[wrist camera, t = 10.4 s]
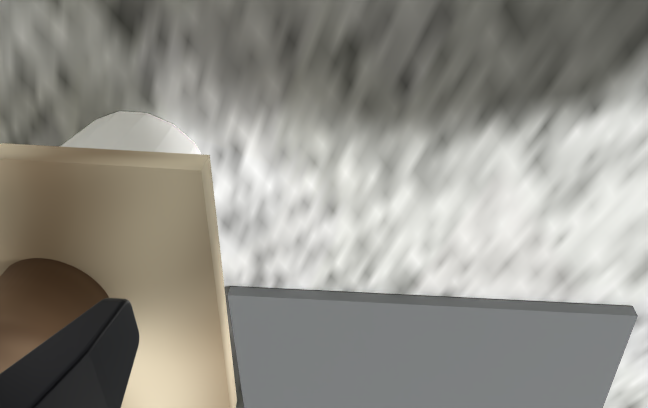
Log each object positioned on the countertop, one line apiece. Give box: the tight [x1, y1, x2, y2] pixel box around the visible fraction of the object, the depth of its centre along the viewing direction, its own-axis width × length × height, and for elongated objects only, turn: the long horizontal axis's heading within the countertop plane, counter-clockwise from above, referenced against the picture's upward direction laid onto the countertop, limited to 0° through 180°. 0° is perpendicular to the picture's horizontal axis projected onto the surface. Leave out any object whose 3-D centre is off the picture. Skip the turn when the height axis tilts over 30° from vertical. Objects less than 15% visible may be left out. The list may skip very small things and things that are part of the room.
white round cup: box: [60, 111, 202, 155], centre depth 21 cm, size 7×7×7 cm
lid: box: [0, 143, 237, 408], centre depth 16 cm, size 10×10×6 cm
